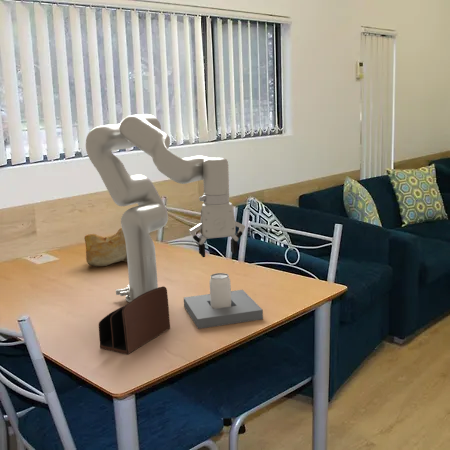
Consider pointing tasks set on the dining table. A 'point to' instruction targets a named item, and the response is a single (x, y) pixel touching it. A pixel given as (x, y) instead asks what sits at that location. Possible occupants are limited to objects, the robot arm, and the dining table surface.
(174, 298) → the dining table surface
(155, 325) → the letter holder
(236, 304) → the socket block
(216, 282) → the can
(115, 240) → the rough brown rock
